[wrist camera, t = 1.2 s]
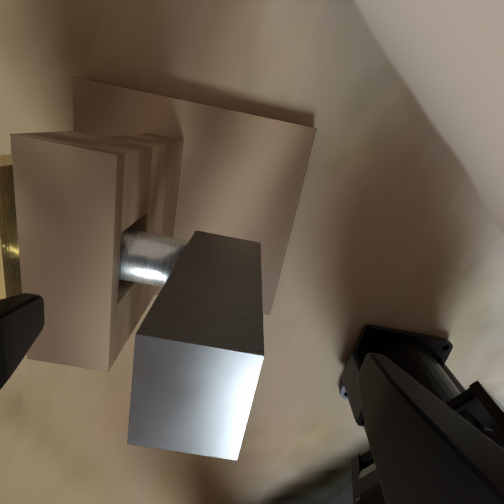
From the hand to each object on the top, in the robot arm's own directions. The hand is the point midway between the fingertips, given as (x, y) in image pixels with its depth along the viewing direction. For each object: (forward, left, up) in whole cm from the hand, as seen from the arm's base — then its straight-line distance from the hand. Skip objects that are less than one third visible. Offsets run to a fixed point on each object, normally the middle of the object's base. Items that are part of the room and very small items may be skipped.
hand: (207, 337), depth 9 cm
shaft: (+4, 0, -5) cm, 7 cm away
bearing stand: (+3, 0, -12) cm, 13 cm away
